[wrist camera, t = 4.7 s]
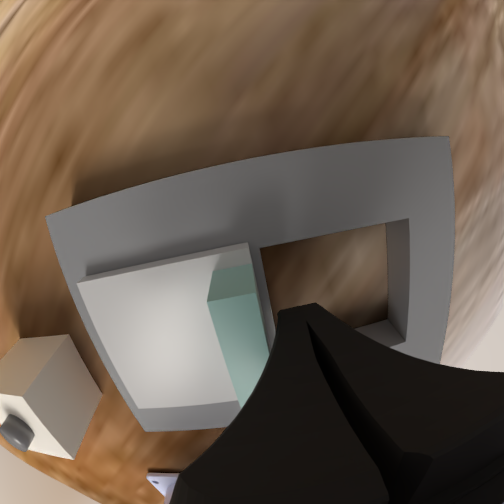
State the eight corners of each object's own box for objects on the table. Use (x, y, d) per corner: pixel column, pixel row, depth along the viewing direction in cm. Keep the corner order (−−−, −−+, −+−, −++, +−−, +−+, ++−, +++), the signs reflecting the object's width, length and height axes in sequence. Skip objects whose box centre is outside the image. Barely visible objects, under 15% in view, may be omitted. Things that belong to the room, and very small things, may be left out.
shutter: (277, 383, 11) (286, 431, 9) (141, 399, 11) (127, 443, 9) (247, 242, 9) (251, 273, 7) (83, 276, 9) (47, 310, 7)
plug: (102, 394, 14) (68, 475, 8) (52, 392, 14) (14, 459, 8) (69, 333, 13) (11, 412, 7) (20, 338, 13) (-34, 400, 7)
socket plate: (420, 349, 14) (437, 370, 12) (152, 405, 14) (145, 431, 12) (420, 136, 10) (448, 136, 9) (70, 206, 11) (45, 216, 9)
